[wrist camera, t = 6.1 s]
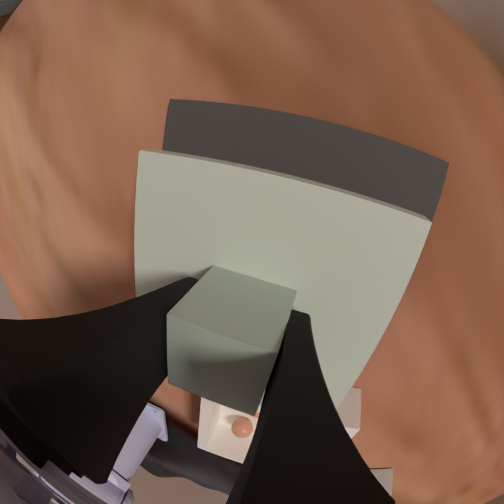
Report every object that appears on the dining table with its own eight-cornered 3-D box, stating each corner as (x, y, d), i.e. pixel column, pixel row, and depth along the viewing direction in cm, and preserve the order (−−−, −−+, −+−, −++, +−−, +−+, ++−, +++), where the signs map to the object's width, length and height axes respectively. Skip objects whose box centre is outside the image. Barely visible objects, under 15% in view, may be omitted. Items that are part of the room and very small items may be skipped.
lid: (155, 336, 15) (105, 393, 10) (163, 147, 10) (71, 161, 6) (331, 396, 13) (319, 475, 9) (418, 210, 9) (475, 264, 4)
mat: (159, 314, 19) (156, 317, 19) (174, 99, 13) (169, 99, 13) (353, 376, 16) (353, 381, 16) (445, 162, 10) (449, 163, 10)
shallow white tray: (211, 418, 23) (197, 447, 20) (222, 349, 18) (202, 385, 15) (313, 448, 21) (307, 479, 18) (361, 388, 17) (359, 429, 14)
